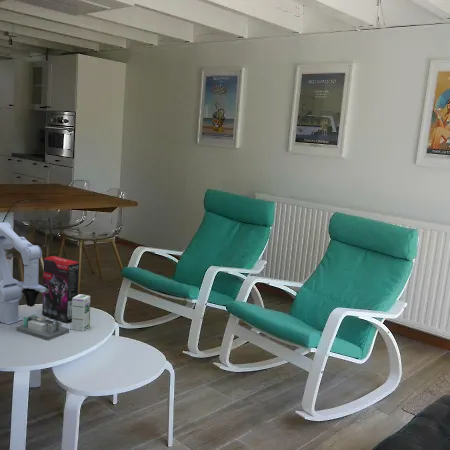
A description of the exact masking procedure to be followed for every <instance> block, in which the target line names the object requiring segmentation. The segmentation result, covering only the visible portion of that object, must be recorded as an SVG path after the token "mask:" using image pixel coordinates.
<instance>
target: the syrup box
mask: <svg viewBox="0 0 450 450" xmlns="http://www.w3.org/2000/svg"><path fill="white" fill-rule="evenodd" d="M90 317H91V295H87V294H82V293H81V294H80V293H78V295H77V296H75V297H73V298H72V321H71V330H74V331H75V330H76V331H82V332H85V331H86V330H87V329H89V328H90V326H91V325H90V324H91V323H90V322H91V321H90V319H91V318H90Z"/></svg>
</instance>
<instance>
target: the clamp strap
mask: <svg viewBox="0 0 450 450" xmlns="http://www.w3.org/2000/svg"><path fill="white" fill-rule="evenodd" d="M33 315H34V314H31V315H30V316H27V318H29V321H30V320H34V321H38V322H41V323H45V324H52V325H54V326H55V325H58V322H56V321H55V320H53V321H51V320H52V319H49V320H47V319H48V318H47V317H44V316H37V317H36V316H33ZM54 321H55V322H54Z"/></svg>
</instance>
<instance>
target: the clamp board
mask: <svg viewBox="0 0 450 450" xmlns="http://www.w3.org/2000/svg"><path fill="white" fill-rule="evenodd" d="M32 315H33V316H36V317H38V316H37V315H38V314H37V315H36V314H32ZM46 319H47V320H51V321H54V322H58V325H55V326H54V325H52V324H45V323H41V322H38V321H34V320H30V321H29V318H28V316H27V317H23V324H21V325H18V326H16V327H15V328H16V329H15V330H16V331H17V332H20V333H24V334H26V335H31V336H32V337H36V338H39V339H43V340H46V341H50V340H53V339H56V338H58V337H60V336H64V335H65V334H68V333H70V328H68V327H64V326H62V323H63V321H60V320H57V321H55V320H52V319H49V318H46Z"/></svg>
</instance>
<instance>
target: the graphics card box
mask: <svg viewBox="0 0 450 450" xmlns="http://www.w3.org/2000/svg"><path fill="white" fill-rule="evenodd" d="M79 271H80V262H79V261H76V260H75V261H74V260H72V259H67V258H63V257H60V256H56V255H53V256H51V255H50V256H48V257H45V258H43V277H42V278H43V280H42V286H43V287H46V292H42V306H41V308H42V311H41V312H42V313H41V315H42V316H45V317H48V318H51V319H54V320H57V321H60V322H62V323H70V322H71V323H72V298H73V297H75V296H77V295H79V276H80V272H79Z"/></svg>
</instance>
